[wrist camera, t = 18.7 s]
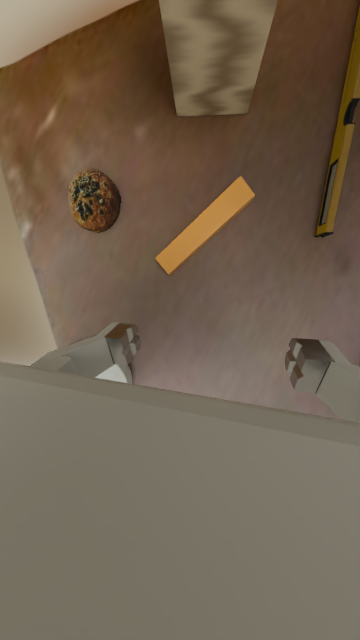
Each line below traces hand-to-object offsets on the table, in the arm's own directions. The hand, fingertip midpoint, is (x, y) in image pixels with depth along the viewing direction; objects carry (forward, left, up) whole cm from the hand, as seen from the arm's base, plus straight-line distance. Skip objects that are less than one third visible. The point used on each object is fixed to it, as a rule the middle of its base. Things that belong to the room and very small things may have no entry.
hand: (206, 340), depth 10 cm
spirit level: (-20, -29, -29) cm, 45 cm away
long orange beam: (+1, -12, -29) cm, 31 cm away
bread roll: (+23, -17, -29) cm, 41 cm away
